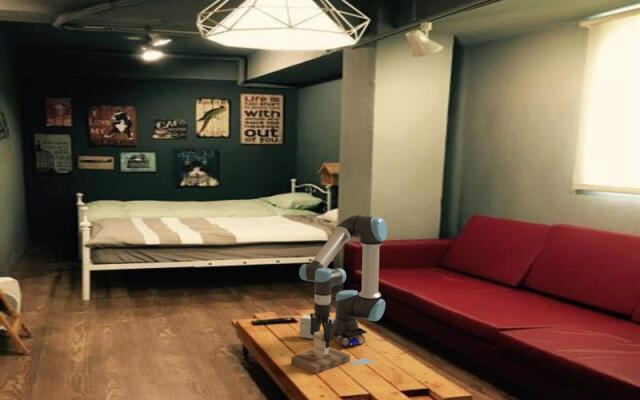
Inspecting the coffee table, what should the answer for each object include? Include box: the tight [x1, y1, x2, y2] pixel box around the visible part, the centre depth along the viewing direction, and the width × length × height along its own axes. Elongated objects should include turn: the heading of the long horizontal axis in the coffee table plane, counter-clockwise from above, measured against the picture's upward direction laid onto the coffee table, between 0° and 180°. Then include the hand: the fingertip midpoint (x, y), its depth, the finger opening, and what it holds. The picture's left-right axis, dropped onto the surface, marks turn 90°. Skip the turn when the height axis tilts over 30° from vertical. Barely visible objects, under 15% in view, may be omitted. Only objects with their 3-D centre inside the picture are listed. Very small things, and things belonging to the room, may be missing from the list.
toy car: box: [335, 327, 368, 349], centre depth 290 cm, size 7×8×15 cm
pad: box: [350, 357, 378, 366], centre depth 266 cm, size 10×10×1 cm
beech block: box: [313, 329, 329, 360], centre depth 264 cm, size 5×5×14 cm
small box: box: [299, 314, 314, 340], centre depth 301 cm, size 8×6×10 cm
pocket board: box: [290, 346, 351, 375], centre depth 265 cm, size 22×16×4 cm
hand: (321, 352), depth 264 cm, fingers closed on beech block, 5 cm apart
